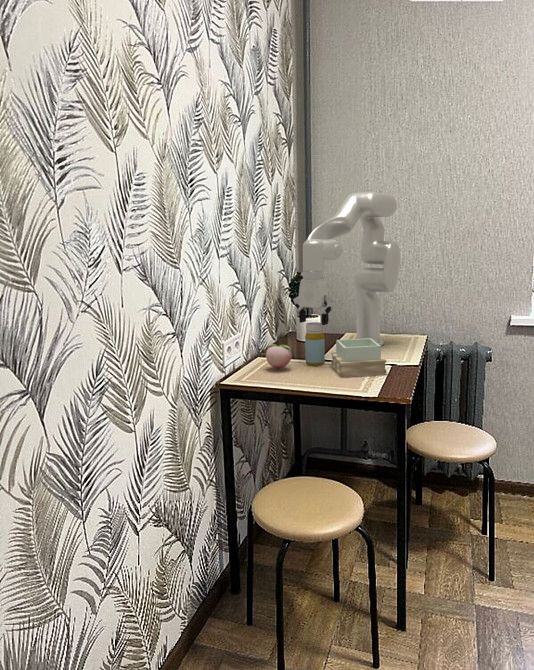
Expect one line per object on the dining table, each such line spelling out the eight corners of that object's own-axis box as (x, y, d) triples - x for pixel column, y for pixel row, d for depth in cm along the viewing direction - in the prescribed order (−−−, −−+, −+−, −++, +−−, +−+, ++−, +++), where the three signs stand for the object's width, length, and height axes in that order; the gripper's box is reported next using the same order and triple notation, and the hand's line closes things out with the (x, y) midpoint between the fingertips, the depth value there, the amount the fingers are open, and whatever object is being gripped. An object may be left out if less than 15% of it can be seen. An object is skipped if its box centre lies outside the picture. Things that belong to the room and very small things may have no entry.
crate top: (336, 353, 220) (336, 340, 219) (370, 351, 221) (370, 338, 220) (344, 361, 207) (344, 347, 206) (380, 359, 209) (380, 345, 208)
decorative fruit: (263, 372, 216) (262, 344, 214) (267, 366, 224) (266, 339, 222) (290, 372, 215) (289, 344, 213) (293, 366, 223) (292, 339, 221)
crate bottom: (331, 366, 222) (331, 352, 221) (374, 363, 223) (374, 350, 222) (340, 377, 207) (340, 363, 206) (386, 374, 208) (386, 360, 207)
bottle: (303, 365, 223) (302, 325, 220) (308, 361, 230) (307, 321, 227) (322, 366, 221) (321, 325, 218) (326, 362, 228) (326, 322, 225)
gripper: (287, 275, 222) (288, 322, 225) (327, 277, 211) (327, 327, 214) (300, 274, 227) (300, 319, 230) (339, 276, 216) (339, 324, 220)
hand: (313, 323), depth 222 cm, fingers open, 9 cm apart
